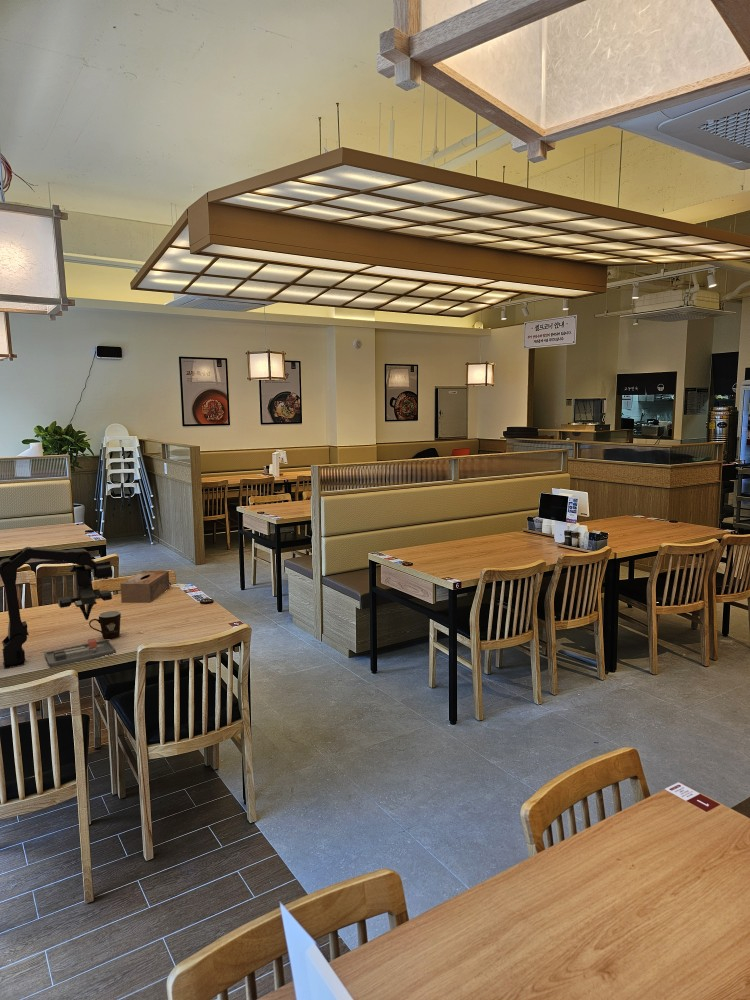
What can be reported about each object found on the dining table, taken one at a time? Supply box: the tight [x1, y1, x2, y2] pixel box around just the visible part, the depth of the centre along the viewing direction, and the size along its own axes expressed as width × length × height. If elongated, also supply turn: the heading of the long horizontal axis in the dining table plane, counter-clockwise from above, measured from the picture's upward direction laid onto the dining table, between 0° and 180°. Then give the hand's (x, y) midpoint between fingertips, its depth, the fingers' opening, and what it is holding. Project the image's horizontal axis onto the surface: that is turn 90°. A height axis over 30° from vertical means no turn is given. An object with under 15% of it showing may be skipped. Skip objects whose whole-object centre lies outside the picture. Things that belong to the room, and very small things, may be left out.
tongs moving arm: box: [54, 646, 85, 659], centre depth 239 cm, size 11×2×2 cm, turn 122°
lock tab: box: [87, 638, 97, 648], centre depth 242 cm, size 2×4×2 cm, turn 35°
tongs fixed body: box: [55, 644, 105, 661], centre depth 239 cm, size 18×4×2 cm, turn 125°
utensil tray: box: [43, 639, 117, 669], centre depth 241 cm, size 23×14×2 cm, turn 125°
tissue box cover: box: [119, 570, 171, 604], centre depth 321 cm, size 26×14×10 cm, turn 177°
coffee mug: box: [88, 610, 122, 640], centre depth 260 cm, size 12×9×10 cm
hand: (86, 619), depth 246 cm, fingers closed
